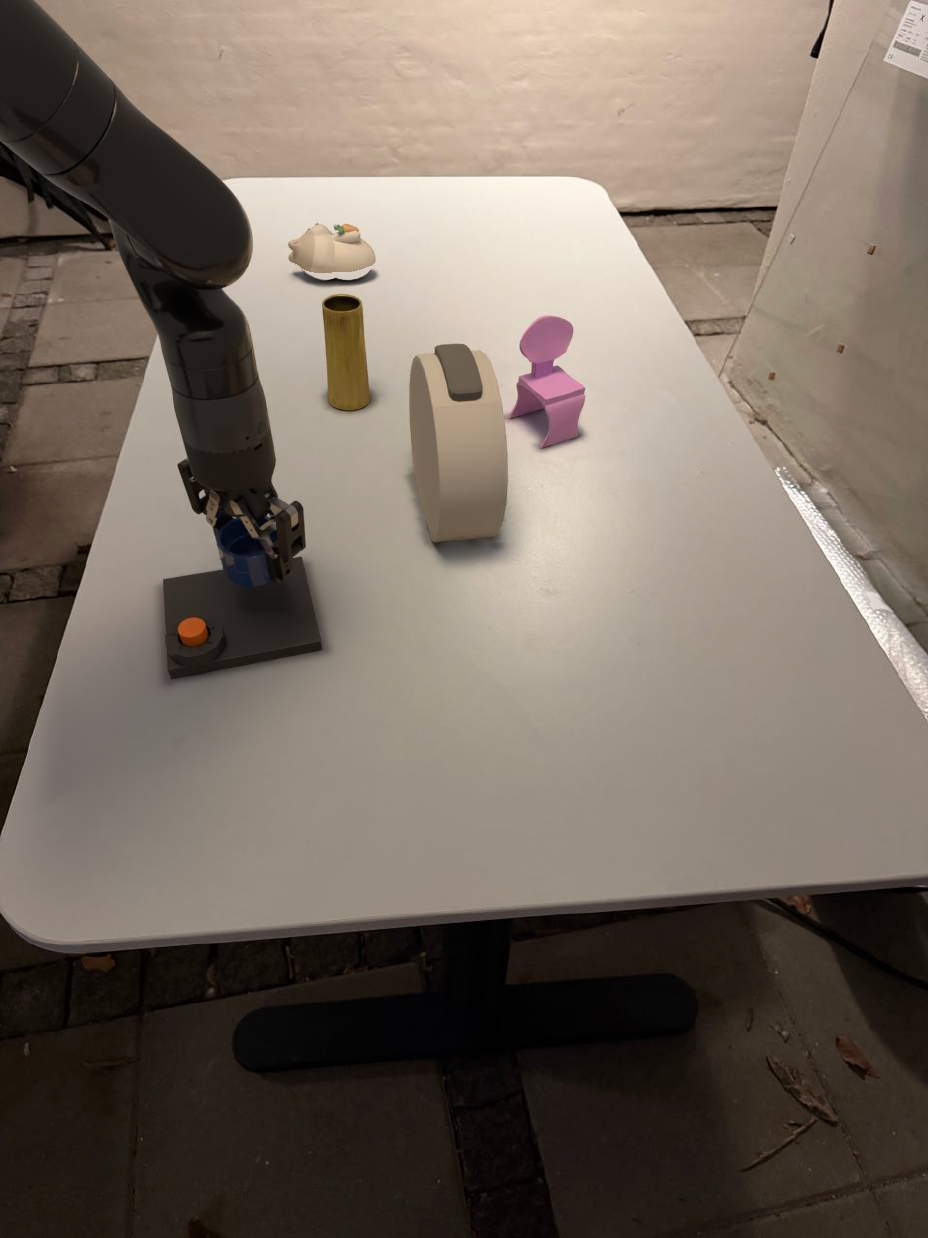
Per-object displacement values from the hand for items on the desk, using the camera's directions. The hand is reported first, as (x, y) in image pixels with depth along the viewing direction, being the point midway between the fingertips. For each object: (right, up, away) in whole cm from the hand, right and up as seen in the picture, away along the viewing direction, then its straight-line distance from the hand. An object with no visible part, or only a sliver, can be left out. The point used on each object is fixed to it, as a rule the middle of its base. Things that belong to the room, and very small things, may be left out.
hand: (255, 562), depth 79 cm
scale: (-2, -6, +3) cm, 7 cm away
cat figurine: (-2, +55, +58) cm, 80 cm away
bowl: (0, 0, +1) cm, 1 cm away
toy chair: (+32, +21, +29) cm, 49 cm away
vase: (+5, +26, +32) cm, 42 cm away
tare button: (-5, -8, -2) cm, 10 cm away
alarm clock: (+20, +9, +17) cm, 28 cm away
